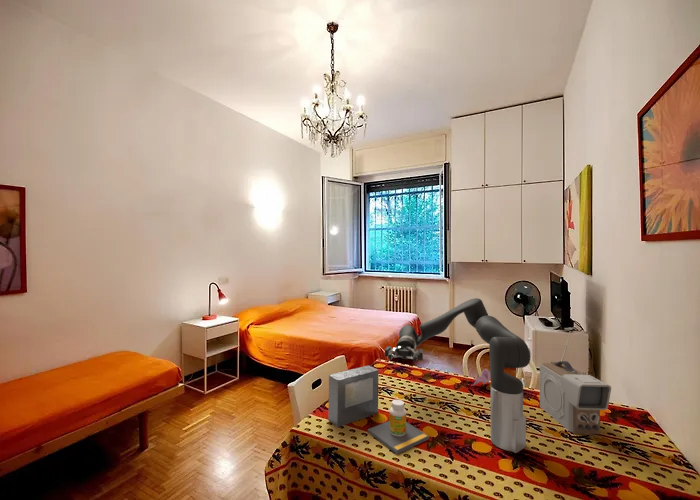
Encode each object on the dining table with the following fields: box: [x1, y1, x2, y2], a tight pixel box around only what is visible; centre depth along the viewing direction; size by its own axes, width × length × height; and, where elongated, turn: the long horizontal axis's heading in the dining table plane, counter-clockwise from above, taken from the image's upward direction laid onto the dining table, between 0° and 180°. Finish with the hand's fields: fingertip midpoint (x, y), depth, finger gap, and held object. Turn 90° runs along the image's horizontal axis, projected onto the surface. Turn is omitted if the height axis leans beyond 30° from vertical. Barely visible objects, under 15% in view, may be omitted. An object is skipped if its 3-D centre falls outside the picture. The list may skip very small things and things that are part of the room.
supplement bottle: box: [389, 399, 407, 437], centre depth 104 cm, size 5×5×10 cm
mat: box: [367, 420, 430, 455], centre depth 104 cm, size 14×14×1 cm
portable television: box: [539, 331, 612, 435], centre depth 114 cm, size 12×24×30 cm, turn 178°
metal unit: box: [327, 364, 379, 428], centre depth 116 cm, size 7×18×16 cm, turn 124°
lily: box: [472, 368, 491, 387], centre depth 141 cm, size 12×12×10 cm
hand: (401, 358), depth 114 cm, fingers open, 8 cm apart
